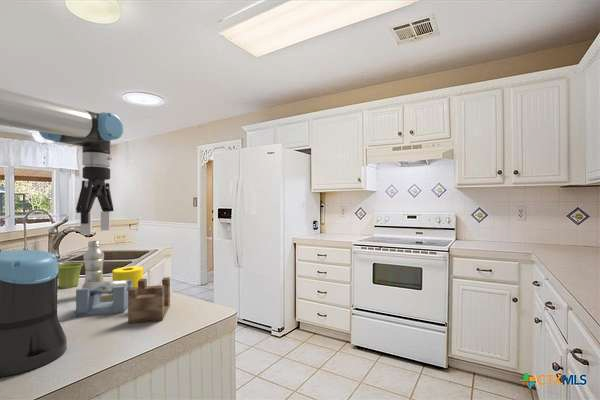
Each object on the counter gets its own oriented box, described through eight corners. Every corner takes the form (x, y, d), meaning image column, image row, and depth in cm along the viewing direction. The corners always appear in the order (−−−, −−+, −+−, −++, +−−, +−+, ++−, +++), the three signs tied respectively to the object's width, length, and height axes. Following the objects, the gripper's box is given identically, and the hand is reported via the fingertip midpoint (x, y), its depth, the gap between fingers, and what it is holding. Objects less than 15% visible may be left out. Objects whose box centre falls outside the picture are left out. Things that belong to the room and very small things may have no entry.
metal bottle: (92, 298, 108) (92, 242, 108) (78, 296, 110) (78, 242, 110) (108, 293, 114) (108, 240, 114) (95, 291, 116) (95, 239, 116)
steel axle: (81, 297, 94) (81, 284, 94) (87, 293, 98) (87, 281, 97) (124, 294, 97) (124, 282, 96) (128, 290, 100) (128, 278, 100)
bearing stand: (170, 305, 100) (170, 277, 100) (162, 320, 88) (162, 287, 88) (140, 308, 98) (140, 278, 98) (128, 323, 86) (128, 290, 86)
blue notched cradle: (123, 312, 94) (123, 286, 94) (76, 316, 91) (76, 289, 91) (132, 303, 103) (132, 279, 103) (89, 306, 100) (89, 282, 100)
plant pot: (82, 282, 131) (82, 262, 131) (83, 286, 123) (84, 265, 123) (54, 285, 125) (54, 265, 125) (54, 291, 117) (54, 268, 117)
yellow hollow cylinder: (118, 300, 106) (118, 273, 106) (108, 294, 113) (108, 269, 113) (147, 293, 114) (147, 268, 114) (137, 288, 120) (136, 265, 120)
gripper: (91, 162, 87) (91, 236, 87) (123, 171, 111) (123, 228, 111) (61, 161, 85) (61, 236, 85) (100, 170, 110) (100, 229, 109)
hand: (96, 232), depth 98 cm, fingers open, 13 cm apart
